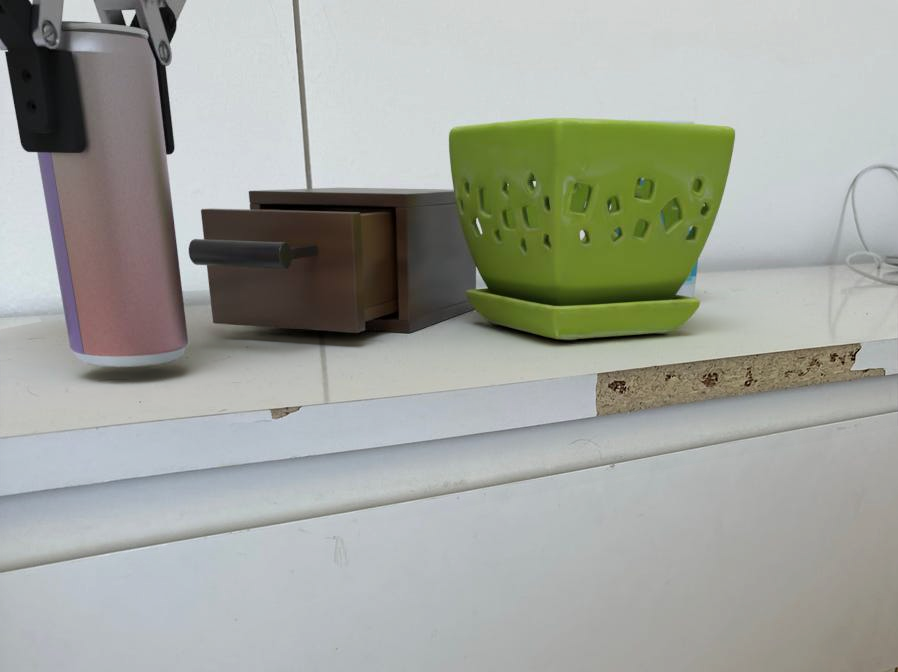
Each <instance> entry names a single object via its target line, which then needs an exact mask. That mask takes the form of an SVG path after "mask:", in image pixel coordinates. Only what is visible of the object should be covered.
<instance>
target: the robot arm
mask: <svg viewBox="0 0 898 672" xmlns="http://www.w3.org/2000/svg"><path fill="white" fill-rule="evenodd" d="M186 2H187V0H93V3H94V6H95V9H96V12H97V14H98V18H99V21H100V23H106V24H116V25H124V26H127V22H126V20H125V17H124V13H123V11H134V12H135V13H134V16H133V18H132V20H131V22H130V24H129V26H130V27H136V28H140V29H143V30H146V31H147V32H148V36H149V38H148V39H147V40H148V43H149V46H150V48H151V51H152V53H153V55H154V58H155V61H156V70H157V78H158V87H159V95H160V104H161V113H162V121H163V130H164V139H165V147H166V156H167V155H168V156H169V155H172V154H173V153H174V152H175V150H176V149H175V139H174V128H173V119H172V112H171V111H172V110H171V101H170V93H169V83H168V75H167V74H168V73H167V67H168V66H170V65H171V63H172V59H173V52H172V48H171V43H172V40H173V39H174V36H175V34H176V31H177V26H178V24H177V21H178V20H179V18H180V15H181V13H182V11H183V9H184V6H185V4H186ZM64 3H65V0H32V2H31V1H30V0H0V50H1V51H4V54H5V60H6V65H7V73H8V78H9V83H10V89H11V95H12V101H13V107H14V112H15V113H14V114H15V118H16V123H17V124H16V125H17V131H18V135H19V136H18V137H19V142H20V146H21V148H22V149H23V150H24V151H25V152H27V153H37V152H46V153H82V152H83V151H84V149H85V146H86V141H85V134H84V128H83V121H82V114H81V107H80V100H79V93H78V87H77V80H76V73H75V66H74V61H73V57H72V51H65V50H56V48H58V46H59V43H60V36H61V26H62V21H63V16H64V15H63V14H64Z"/></svg>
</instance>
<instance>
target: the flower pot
mask: <svg viewBox="0 0 898 672" xmlns="http://www.w3.org/2000/svg"><path fill="white" fill-rule="evenodd" d="M735 140H736V130H735V128H733V127H731V126H726V125H714V124H713V125H712V124H701V123H694V124H689V123H668V122H652V121H637V120H629V119H628V120H626V119H607V118H579V117H578V118H577V117H552V118H548V117H547V118H533V119H532V118H530V119H521V120H510V121H509V120H508V121H497V122H488V123H480V124H479V123H477V124H469V125H460V126H453V127H452V128H451V129H450V130H449V133H448V153H449V162H450V164H449V165H450V173H451V181H452V186H453V187H452V188H453V190H454V195H455V201H456V205H457V210H458V214H459V218H460V222H461V226H462V230H463V233H464V236H465V239H466V242H467V245H468V248H469V251H470V253H471V256H472V258H473V261H474V263H475V265H476V270H477V271H478V273H479V276H480V277H481V279H482V281H483V282H484V284H485V286H486V288H476V289H472V290H467V291H466V296H467V298H468V300H469V302H470V303H471V304H472V306H473V307H474V308H475V309H474V310H476V312H478V314H479V315H480V316H481V317H482V318H483V319H485V320H486V321H488V322H489V324H491V325H499V326H503V327H506V328H510V329H514V330H518V331H521V332H525V333H529V334H533V335H536V336H537V335H538V336H542V337H545V338H549V339H555V340H562V341H576V340H580V339H593V338H594V339H595V338H608V337H609V338H610V337H623V336H635V335H649V334H650V335H651V334H656V335H657V334H658V335H667V334H668V333H669V332H672V331H675V330H677V329H678V328H680V327H681V326H683V325H684V324H685V323H686V322H688V321H689V319H690V318H692V316H693V315H694V314H695V313H696V312H697V311H698V309H699V307H700V305H701V301H700V299H699V298H697V297H694V296H693V297H687V296H682V295H676V294H677V292H678V291H679V289H680V288H681V287H682V285H683V284H684V282H685V281H686V279H687V278H688V276H689V274H690V273H691V271H692V269H693V268H694V266H695V264H696V262H697V260H698V261H699V259H700V256H701V254H702V252H703V250H704V248H705V245H706V243H707V241H708V239H709V237H710V235H711V233H712V231H713V230H712V229H713V227H714V224H715V221H716V218H717V216H718V212H719V210H720V207H721V203H722V200H723V197H724V194H725V189H726V185H727V181H728V178H729V173H730V168H731V163H732V162H731V161H732V157H733V153H734V147H735ZM642 178H644V183H643V185H642V186H641V179H642ZM534 182H535V184H534ZM636 197H637V198H636ZM639 198H640V199H639ZM611 203H612V207H611ZM703 205H704V206H703ZM677 207H678V209H677ZM661 212H662V215H663V220H664V225H663V222H662V218H661ZM477 221H478V222H477ZM478 223H479V226H478ZM691 226H693V227H692V229H691V231H690V233H689V234H688V235H687V233H688V230H689V228H690V227H691ZM479 227H480V228H479ZM618 228H619V235H618V234H617V233H616V231H617V229H618ZM480 229H481V231H480ZM581 231H583V233H584V236H583V238H581ZM481 232H482V233H481Z"/></svg>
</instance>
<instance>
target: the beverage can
mask: <svg viewBox="0 0 898 672" xmlns="http://www.w3.org/2000/svg"><path fill="white" fill-rule="evenodd" d="M148 38H149V36H148V32H147V31H146V30H143V29H140V28H136V27H130V25H126V26H124V25H116V24H106V23H101V22H94V21H93V22H92V21H75V20H74V21H72V20H71V21H70V20H62V26H61V36H60V43H59V46H58V48H56V50H65V51H72V57H73V61H74V66H75V73H76V80H77V87H78V93H79V100H80V107H81V114H82V121H83V128H84V134H85V141H86V146H85V149H84V151H83V152H82V153H46V152H36V153H37V159H38V165H39V171H40V178H41V184H42V189H43V196H44V201H45V206H46V208H45V209H46V213H47V220H48V225H49V230H50V237H51V242H52V249H53V253H54V260H55V266H56V271H57V279H58V284H59V289H60V295H61V301H62V308H63V313H64V319H65V326H66V331H67V337H68V343H69V348H70V349H71V350H72V352H73V353H74V355H75V356H76V357H77V358H78V360H79V361H80V362H82V363H83V364H87V365H90V366H97V367H109V368H128V367H129V368H131V367H133V368H134V367H144V366H146V367H147V366H154V365H155V366H156V365H162V364H166V363H171V362H174V361H178V360H180V359H181V358H182V357H183V356H184V354H185V351H186V349H187V346H188V345H189V339H188V338H189V337H188V328H187V321H186V311H185V303H184V296H183V286H182V285H183V284H182V276H181V270H180V260H179V253H178V251H179V250H178V246H177V245H178V242H177V233H176V226H175V225H176V224H175V218H174V208H173V199H172V192H171V183H170V182H171V181H170V174H169V165H168V164H169V163H168V157H167V155H166V147H165V139H164V130H163V121H162V113H161V104H160V95H159V87H158V78H157V70H156V61H155V58H154V55H153V53H152V51H151V48H150V46H149V43H148V40H147V39H148Z"/></svg>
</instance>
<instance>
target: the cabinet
mask: <svg viewBox="0 0 898 672" xmlns="http://www.w3.org/2000/svg"><path fill="white" fill-rule="evenodd" d="M248 199H249V200H248V202H249V209H250V210H262V209H276V208H291V207H305V206H316V207H358V208H396V232H397V269H398V306H399V311H397V312H394V313H391V314H388V315H385V316H381V317H378V318H375V319H372V320H368V321H365V330H364V331H370V332H371V331H372V332H373V331H374V332H387V333H403V334H411V333H413V332H416V331H419V330H421V329H424V328H427V327H429V326H433V325H435V324H437V323H440V322H443V321H445V320H446V321H447V320H449V319H452V318H454V317H457V316H459V315H462V314H465V313H467V312H470V311H473V310H476V309H475V308H474V307H473V306H472V304H471V303H470V302H469V300H468V298H467V296H466V291H467V290H472V289H477V267H476V265H475V263H474V261H473V258H472V256H471V253H470V251H469V248H468V245H467V242H466V239H465V236H464V233H463V230H462V226H461V222H460V218H459V214H458V210H457V205H456V201H455V195H454V189H450V188H449V189H448V188H447V189H446V188H444V189H443V188H391V187H390V188H388V187H387V188H385V187H317V188H315V187H313V188H291V189H289V188H287V189H286V188H285V189H265V190H264V189H262V190H260V189H259V190H249V191H248Z"/></svg>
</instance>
